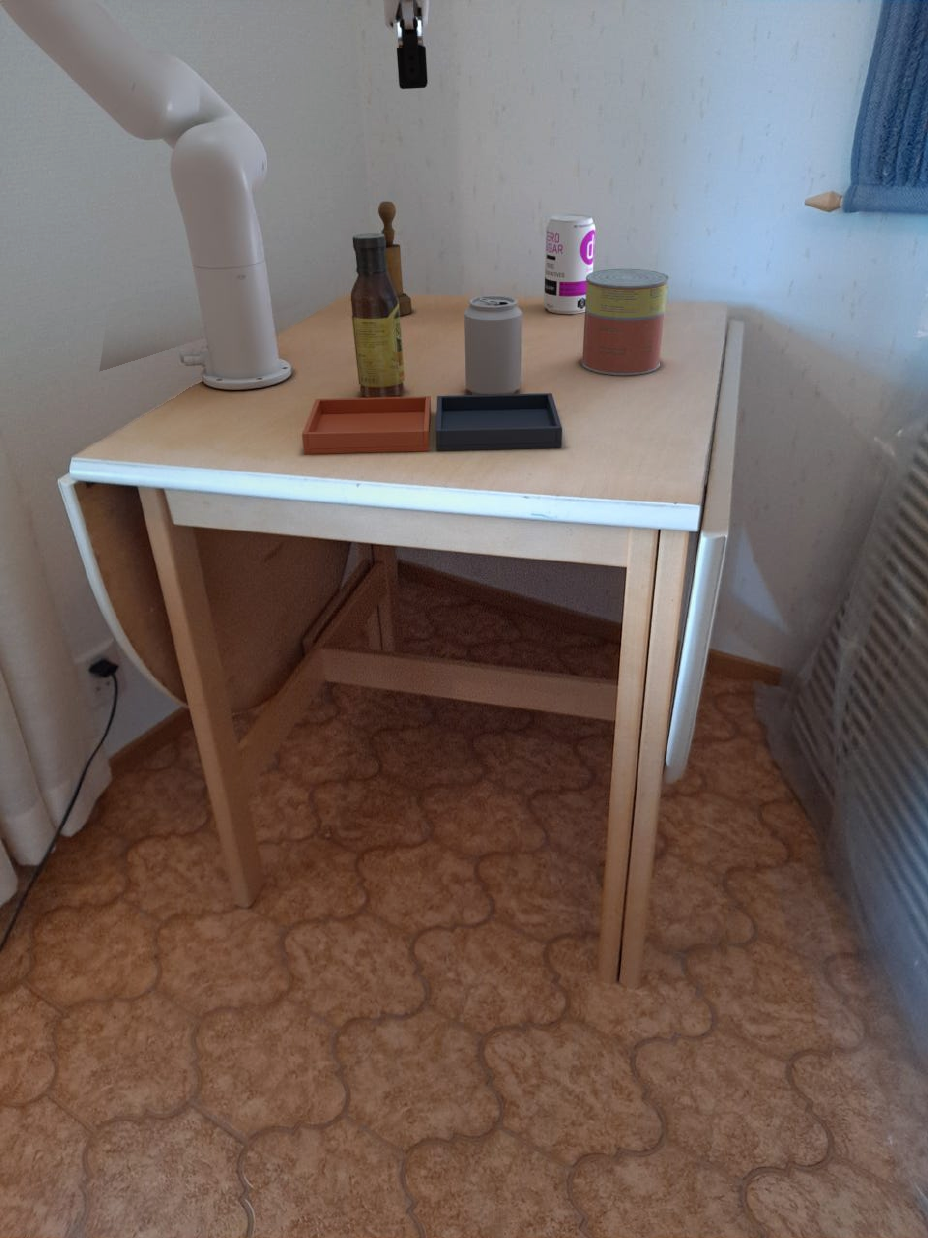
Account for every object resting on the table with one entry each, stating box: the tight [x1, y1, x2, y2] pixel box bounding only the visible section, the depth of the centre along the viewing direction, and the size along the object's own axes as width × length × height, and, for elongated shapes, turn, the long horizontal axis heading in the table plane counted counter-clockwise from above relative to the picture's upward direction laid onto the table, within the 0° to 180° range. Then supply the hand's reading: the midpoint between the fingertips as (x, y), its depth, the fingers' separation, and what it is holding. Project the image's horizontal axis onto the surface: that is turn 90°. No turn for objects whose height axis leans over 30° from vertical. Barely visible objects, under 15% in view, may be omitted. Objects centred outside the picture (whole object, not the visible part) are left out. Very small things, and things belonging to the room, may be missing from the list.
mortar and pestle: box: [377, 200, 412, 317], centre depth 149 cm, size 7×6×18 cm
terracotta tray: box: [301, 395, 432, 455], centre depth 104 cm, size 14×12×2 cm
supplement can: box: [543, 213, 596, 315], centre depth 149 cm, size 8×8×15 cm
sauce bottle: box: [350, 232, 406, 398], centre depth 111 cm, size 7×6×20 cm
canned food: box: [581, 268, 670, 377], centre depth 122 cm, size 11×11×12 cm
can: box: [463, 294, 523, 395], centre depth 113 cm, size 8×8×12 cm
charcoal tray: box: [435, 392, 563, 452], centre depth 104 cm, size 14×12×2 cm
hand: (414, 86), depth 104 cm, fingers open, 9 cm apart
